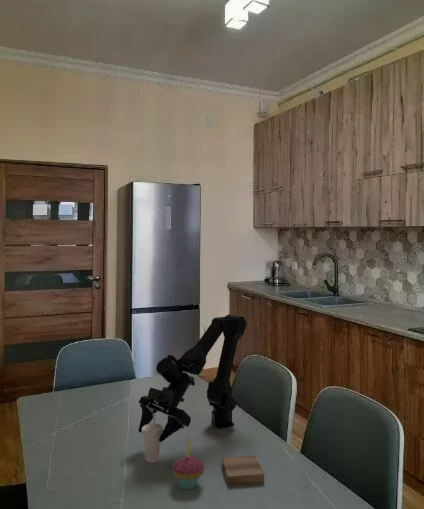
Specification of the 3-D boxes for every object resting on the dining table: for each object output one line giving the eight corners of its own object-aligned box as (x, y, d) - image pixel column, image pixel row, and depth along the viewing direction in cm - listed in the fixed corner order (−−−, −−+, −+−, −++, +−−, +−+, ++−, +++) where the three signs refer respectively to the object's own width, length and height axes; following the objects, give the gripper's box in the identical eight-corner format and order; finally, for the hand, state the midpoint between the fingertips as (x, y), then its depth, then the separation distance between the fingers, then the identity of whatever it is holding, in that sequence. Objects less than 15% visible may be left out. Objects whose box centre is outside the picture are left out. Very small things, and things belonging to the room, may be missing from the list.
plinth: (221, 466, 124) (221, 457, 124) (255, 463, 125) (255, 455, 125) (227, 485, 114) (227, 476, 114) (264, 483, 115) (264, 474, 115)
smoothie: (159, 466, 124) (159, 418, 123) (138, 463, 125) (138, 416, 125) (165, 455, 130) (165, 410, 130) (145, 453, 131) (145, 408, 131)
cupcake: (172, 476, 119) (172, 434, 118) (203, 475, 119) (203, 433, 119) (172, 494, 110) (172, 449, 110) (205, 493, 111) (205, 448, 110)
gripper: (143, 370, 136) (114, 415, 128) (184, 383, 124) (155, 433, 116) (161, 388, 142) (135, 431, 134) (202, 402, 130) (176, 451, 122)
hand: (149, 436), depth 126 cm, fingers open, 9 cm apart
